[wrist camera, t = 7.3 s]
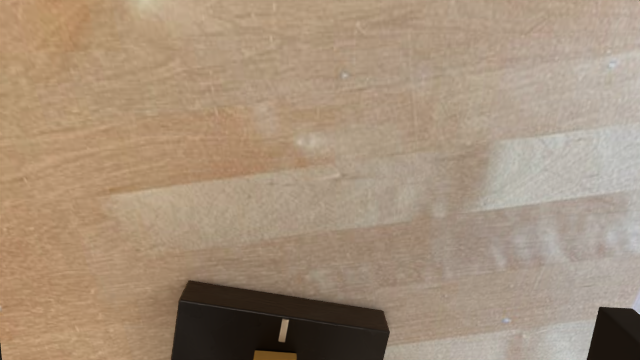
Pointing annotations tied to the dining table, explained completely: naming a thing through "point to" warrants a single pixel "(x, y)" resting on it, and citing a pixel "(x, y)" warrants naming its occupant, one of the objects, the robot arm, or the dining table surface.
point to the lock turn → (274, 355)
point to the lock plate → (273, 326)
